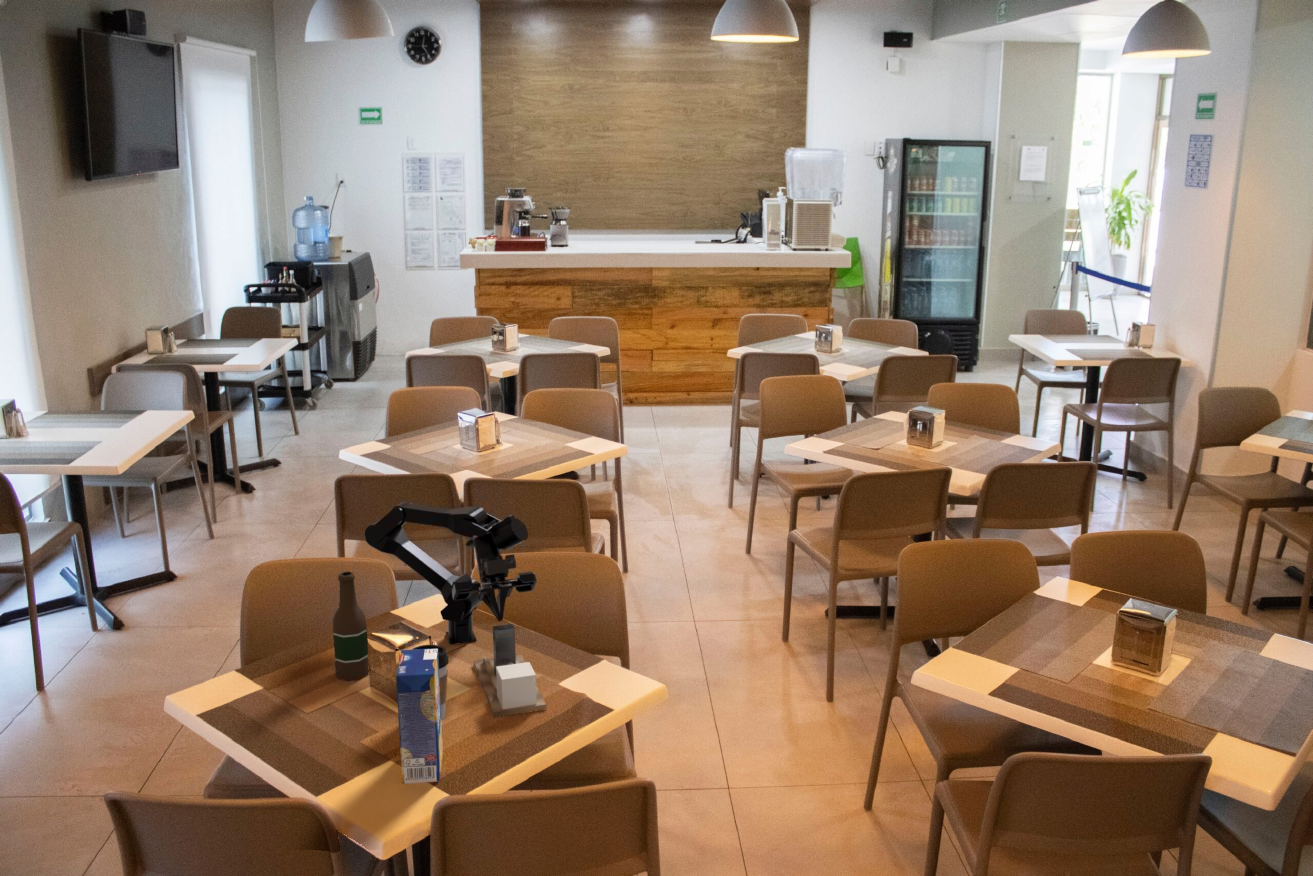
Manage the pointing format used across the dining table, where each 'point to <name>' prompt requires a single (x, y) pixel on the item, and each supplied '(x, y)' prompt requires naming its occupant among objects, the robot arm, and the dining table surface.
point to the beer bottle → (350, 633)
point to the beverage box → (419, 715)
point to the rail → (490, 688)
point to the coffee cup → (440, 673)
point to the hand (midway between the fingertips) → (500, 620)
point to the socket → (516, 685)
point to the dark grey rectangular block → (504, 645)
